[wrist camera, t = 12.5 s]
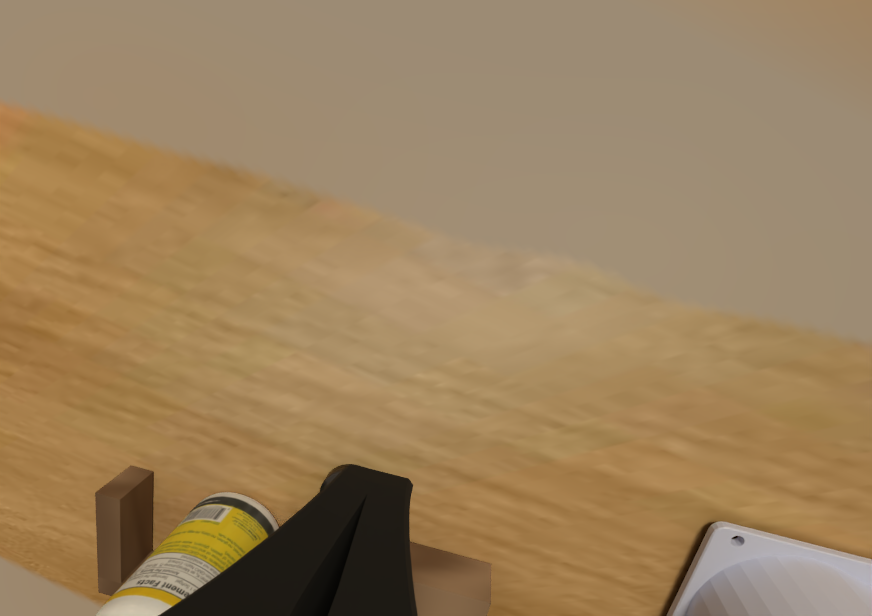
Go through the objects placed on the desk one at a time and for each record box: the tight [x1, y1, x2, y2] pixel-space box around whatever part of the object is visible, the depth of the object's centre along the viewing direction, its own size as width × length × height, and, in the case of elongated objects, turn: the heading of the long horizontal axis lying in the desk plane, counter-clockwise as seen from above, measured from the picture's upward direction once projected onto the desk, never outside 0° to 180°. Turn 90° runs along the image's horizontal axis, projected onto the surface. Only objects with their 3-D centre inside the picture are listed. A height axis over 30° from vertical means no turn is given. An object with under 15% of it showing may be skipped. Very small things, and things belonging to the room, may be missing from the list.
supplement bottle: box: [95, 492, 279, 616], centre depth 18 cm, size 5×5×8 cm
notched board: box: [95, 466, 491, 616], centre depth 21 cm, size 18×6×2 cm, turn 78°
